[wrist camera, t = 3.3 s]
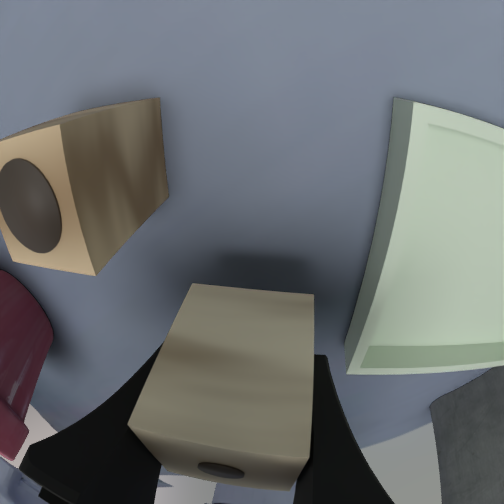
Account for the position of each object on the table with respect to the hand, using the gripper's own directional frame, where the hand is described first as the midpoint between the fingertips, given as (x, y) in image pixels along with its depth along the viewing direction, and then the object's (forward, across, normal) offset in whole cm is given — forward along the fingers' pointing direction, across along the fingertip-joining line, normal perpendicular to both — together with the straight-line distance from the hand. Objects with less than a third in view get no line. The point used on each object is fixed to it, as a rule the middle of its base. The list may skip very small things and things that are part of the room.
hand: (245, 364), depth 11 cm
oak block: (+5, +6, -7) cm, 11 cm away
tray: (+5, -12, -3) cm, 13 cm away
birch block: (+2, 0, 0) cm, 2 cm away
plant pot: (+5, +22, +6) cm, 24 cm away
